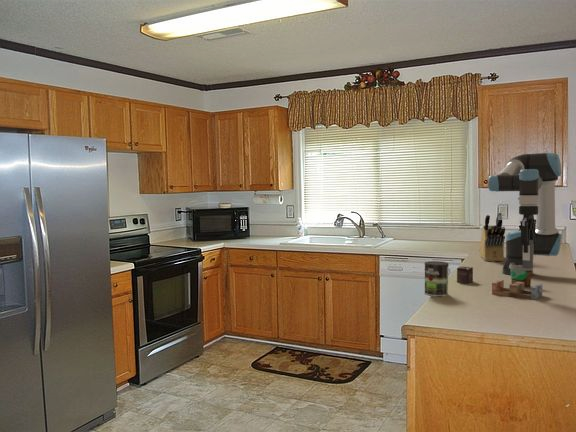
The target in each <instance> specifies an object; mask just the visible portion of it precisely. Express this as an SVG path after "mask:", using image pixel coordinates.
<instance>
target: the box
mask: <svg viewBox="0 0 576 432" xmlns="http://www.w3.org/2000/svg"><path fill="white" fill-rule="evenodd" d="M456 269H457V270H456V283H460V284H468V285H469V284H471V283H473V281H474V272H473V271H474V267H472V266H459V267H457V268H456Z"/></svg>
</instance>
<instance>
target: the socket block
mask: <svg viewBox="0 0 576 432" xmlns="http://www.w3.org/2000/svg"><path fill="white" fill-rule="evenodd" d="M504 283H505V280H504V279H498V280H496V281H493V282H492V283H491V294H492V295H494V296H495V295H497V296H504V297H512V298H519V299H527V300H528V299H529V300H537V299H539V298H540V297H542V296H543V283H537V284H535V285H533V286H530V287H531V288H530V289H531V290H528V289H527V290H526V289H525V287H524V282H515V283H513V284H512V283H511V284H509V287H505V285H504Z"/></svg>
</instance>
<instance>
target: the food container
mask: <svg viewBox="0 0 576 432" xmlns="http://www.w3.org/2000/svg"><path fill="white" fill-rule="evenodd" d="M509 268H510V270H511V275H510V280H511V282H510V283H511V284H513V283H515V282H524V288H526V287H527V288H529V287H531V282H532V281H531V280H532V275H533V274H532V270H533V271H534V269H533V268H534V267H533V268H532V269H526V268H523V265H514V263H510V265H509ZM531 274H532V275H531Z"/></svg>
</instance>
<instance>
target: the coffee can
mask: <svg viewBox="0 0 576 432" xmlns="http://www.w3.org/2000/svg"><path fill="white" fill-rule="evenodd" d="M449 265H450V264H449V262H446V261H439V260H438V261H435V260H434V261H433V260H432V261H425V262H424V295H425V296H429V297H436V296H442V297H448V296H449Z"/></svg>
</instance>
